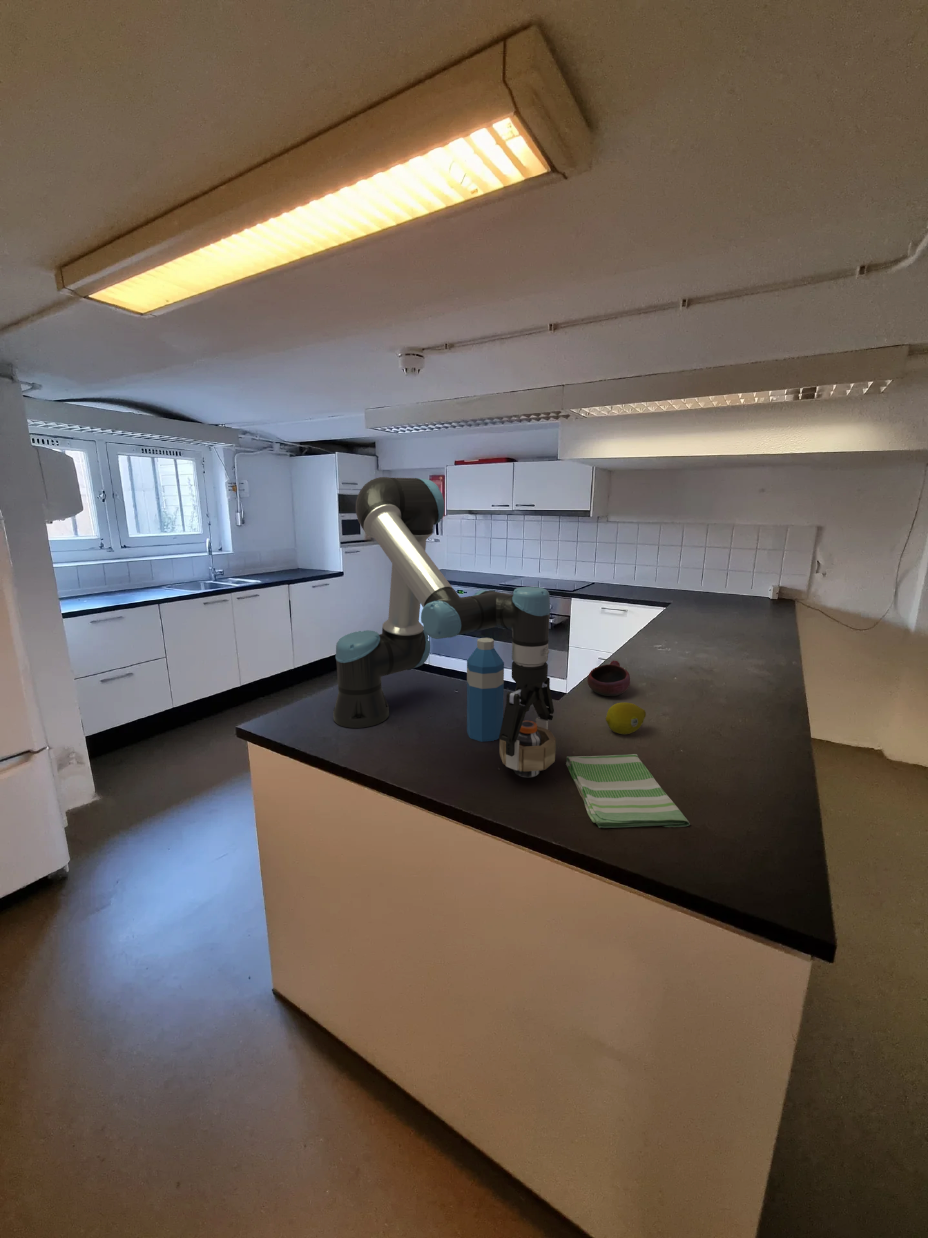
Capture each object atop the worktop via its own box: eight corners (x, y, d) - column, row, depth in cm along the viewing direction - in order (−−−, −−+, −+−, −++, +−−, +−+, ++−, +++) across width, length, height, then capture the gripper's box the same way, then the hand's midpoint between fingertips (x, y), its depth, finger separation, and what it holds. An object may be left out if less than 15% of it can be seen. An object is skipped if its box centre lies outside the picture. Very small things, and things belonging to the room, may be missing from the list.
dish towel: (593, 832, 88) (594, 818, 88) (562, 765, 111) (562, 754, 110) (689, 828, 89) (691, 815, 88) (638, 763, 112) (639, 752, 111)
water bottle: (500, 743, 120) (502, 646, 114) (463, 740, 122) (463, 644, 116) (504, 727, 129) (506, 636, 123) (470, 724, 131) (470, 634, 125)
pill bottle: (544, 776, 105) (546, 728, 103) (519, 780, 104) (520, 731, 101) (533, 762, 111) (534, 716, 108) (508, 766, 109) (509, 719, 107)
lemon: (609, 740, 122) (611, 710, 120) (598, 726, 129) (600, 698, 127) (651, 738, 122) (654, 709, 120) (638, 725, 130) (640, 697, 128)
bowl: (635, 701, 145) (637, 676, 144) (592, 701, 145) (593, 676, 143) (618, 682, 161) (620, 659, 159) (579, 682, 161) (580, 659, 159)
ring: (490, 759, 106) (490, 738, 105) (518, 740, 114) (519, 720, 113) (536, 777, 99) (537, 754, 98) (562, 755, 108) (563, 734, 106)
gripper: (514, 681, 90) (512, 786, 95) (571, 651, 108) (567, 741, 113) (481, 672, 95) (481, 773, 100) (542, 646, 113) (539, 732, 118)
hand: (527, 756), depth 107 cm, fingers closed on ring, 11 cm apart
